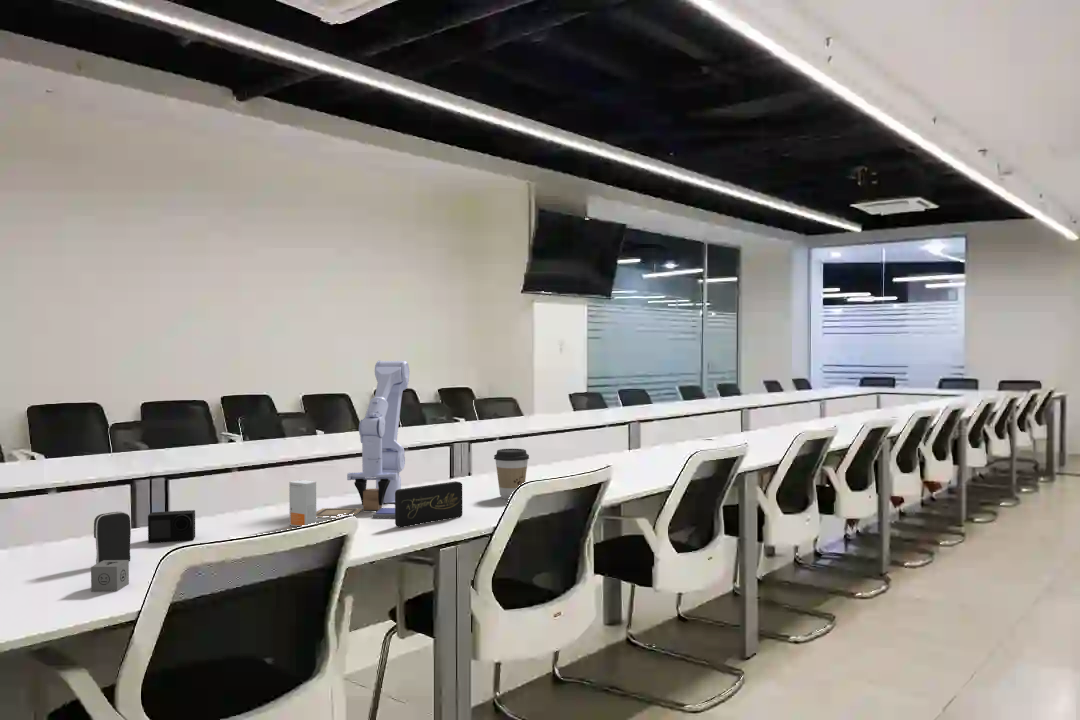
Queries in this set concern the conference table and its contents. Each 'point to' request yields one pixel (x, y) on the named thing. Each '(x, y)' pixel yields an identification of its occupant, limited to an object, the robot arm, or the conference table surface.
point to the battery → (112, 536)
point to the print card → (336, 511)
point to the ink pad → (384, 513)
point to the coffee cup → (510, 469)
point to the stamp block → (371, 500)
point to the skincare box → (302, 502)
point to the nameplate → (428, 503)
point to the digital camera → (171, 526)
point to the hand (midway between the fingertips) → (372, 504)
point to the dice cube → (109, 575)
